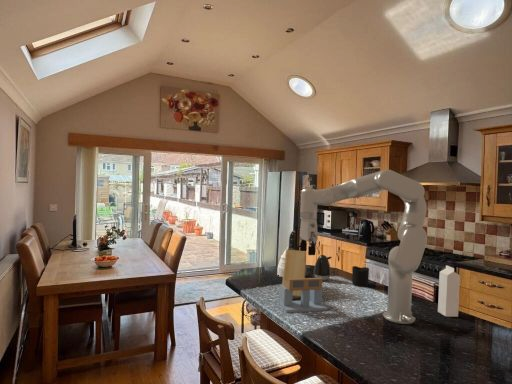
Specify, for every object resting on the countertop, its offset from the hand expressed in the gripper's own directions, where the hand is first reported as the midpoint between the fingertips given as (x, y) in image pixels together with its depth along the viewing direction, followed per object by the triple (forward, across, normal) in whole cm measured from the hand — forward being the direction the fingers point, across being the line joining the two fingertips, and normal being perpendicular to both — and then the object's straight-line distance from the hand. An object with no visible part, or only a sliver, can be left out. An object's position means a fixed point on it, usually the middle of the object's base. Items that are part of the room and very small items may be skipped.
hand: (307, 252), depth 153 cm
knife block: (+26, +26, -4) cm, 37 cm away
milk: (+27, -16, -64) cm, 71 cm away
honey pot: (+26, +58, -12) cm, 65 cm away
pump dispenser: (+26, +45, -30) cm, 60 cm away
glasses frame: (+17, +4, +1) cm, 17 cm away
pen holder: (+26, +32, -48) cm, 63 cm away
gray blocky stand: (+26, +3, 0) cm, 26 cm away
